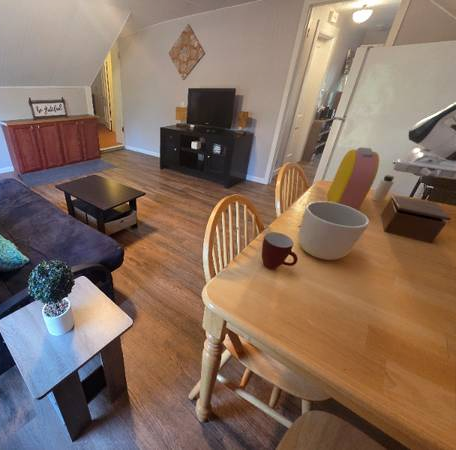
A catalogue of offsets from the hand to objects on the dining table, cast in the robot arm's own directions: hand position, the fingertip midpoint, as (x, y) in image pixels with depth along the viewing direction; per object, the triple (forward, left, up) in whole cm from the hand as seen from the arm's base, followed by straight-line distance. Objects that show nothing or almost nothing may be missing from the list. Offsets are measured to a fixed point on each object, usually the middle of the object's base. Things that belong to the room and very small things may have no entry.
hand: (433, 174), depth 90 cm
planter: (+36, +34, -21) cm, 54 cm away
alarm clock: (+20, -10, -21) cm, 31 cm away
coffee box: (+1, +5, -21) cm, 22 cm away
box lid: (+1, +5, -12) cm, 13 cm away
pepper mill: (+1, -23, -21) cm, 31 cm away
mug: (+51, +48, -21) cm, 73 cm away
